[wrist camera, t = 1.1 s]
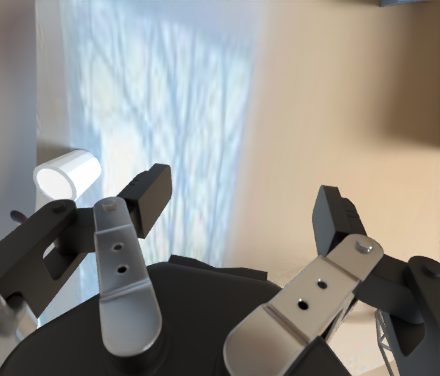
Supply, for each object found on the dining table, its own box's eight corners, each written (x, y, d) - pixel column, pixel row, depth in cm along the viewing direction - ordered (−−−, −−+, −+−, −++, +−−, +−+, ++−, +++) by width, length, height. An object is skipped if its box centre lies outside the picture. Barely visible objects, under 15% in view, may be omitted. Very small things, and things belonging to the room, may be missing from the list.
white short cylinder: (108, 159, 41) (80, 180, 35) (99, 189, 45) (72, 212, 39) (69, 137, 40) (34, 155, 34) (63, 169, 44) (30, 190, 38)
